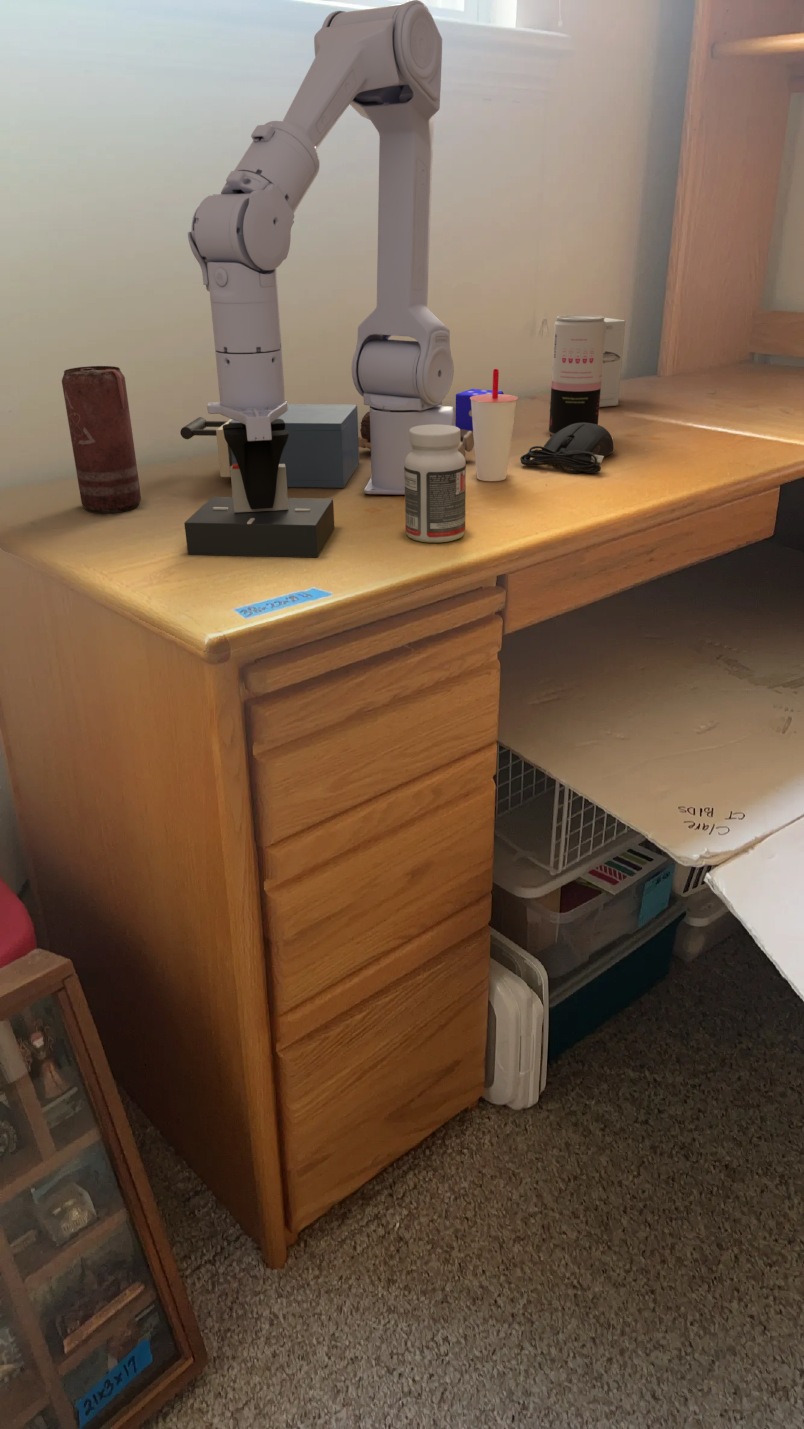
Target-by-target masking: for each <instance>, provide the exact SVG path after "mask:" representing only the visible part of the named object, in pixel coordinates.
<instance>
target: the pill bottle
mask: <svg viewBox="0 0 804 1429" xmlns="http://www.w3.org/2000/svg"><path fill="white" fill-rule="evenodd" d="M460 442H461V440H460V429H459V428H458V427H455V426H450V425H440V424H431V425H420V426H415V427H412V428H411V429H410V430H409V443H410V444H411V446H412V452H411V453H409V454H408V455H407V457H406V459H405V463H404V472H405V495H404V522H405V523H404V525H405V528H404V529H405V534H406V535H407V537H408V538H410V539H411V540H414V541H417V542H421V543H428V544H429V543H431V544H436V543H437V544H441V543H448V542H449V543H450V542H453V541H456V540H458V539H460V538H462V537H463V536H464V535H465V532H466V496H467V494H466V488H467V487H466V485H467V484H466V483H467V482H466V478H467V476H466V474H467V470H466V469H467V464H466V457H465V458H464V456H463V455H462V454H461V453H460V452H459V451H458V448H457V446H458V445H459V443H460Z"/></svg>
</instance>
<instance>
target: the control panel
mask: <svg viewBox="0 0 804 1429" xmlns="http://www.w3.org/2000/svg"><path fill="white" fill-rule="evenodd" d="M288 508H289V509H288V510H278V511H259V512H241V513H235V512H234V505H233V496H212V497H211V498H210V499H208V500H207V501H206V502H205V503H204V504H203V505H201V507H199V508H198V510H196V511H195V512H193V514H192V515H191V516H190V517H188V518H187V519H186V520H185V521H184V523H183V524H184V532H185V541H186V549H187V550H186V551H187V555H189V556H190V555H191V556H193V555H194V556H229V557H231V556H232V557H233V556H234V557H273V558H276V557H277V558H318V557H319V555H321V552H322V550H323V549H324V547H325V546H326V544H327V542H328V541H329V539H330V537H331V535H332V533H333V532H334V531H335V511H334V510H335V509H334V508H335V507H334V498H319V497H318V498H317V497H316V498H314V497H313V498H312V497H309V498H307V497H288Z"/></svg>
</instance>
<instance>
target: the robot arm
mask: <svg viewBox="0 0 804 1429" xmlns="http://www.w3.org/2000/svg"><path fill="white" fill-rule="evenodd" d="M313 45H314V49H313V50H314V59H313V60H312V63H311V65H310V67H309V69H308V70H307V73H306V75H305V77H304V79H303V80H302V83H301V84H300V86H299V88H298V90H297V91H296V94H295V96H294V98H293V100H292V101H291V104H290V106H289V108H288V110H287V111H286V114H285V115H284V118H283V120H271V121H268V122H266V123H264V124H259V125H256V126H255V128H254V130H253V131H252V133H251V134H250V138H251V139H252V142H251V143H250V144H249V146H248V148H247V149H246V151H245V152H244V154H243V156H242V157H241V159H240V161H239V162H238V164H237V165H236V167H235V168H234V170H231V171H230V172H229V174H228V175H227V177H226V179H225V181H226V183H225V184H224V186H223V187H222V189H221V191H220V193H215V194H212V195H208V196H206V197H205V198H203V200H202V201H201V202H200V204H199V205H198V206H197V208H196V209H195V210H194V213H193V215H192V218H191V219H192V220H191V229H190V231H188V232H187V239H188V243H189V247H190V250H191V252H192V254H193V256H194V259H196V261H197V262H198V264H199V266H200V269H201V273H202V282H203V285H204V286H205V289H206V291H207V292H208V293H209V298H210V299H209V300H210V311H211V321H212V330H213V342H214V343H213V344H214V350H215V362H216V373H217V384H218V395H219V401H212V402H207V403H206V408H207V413H208V414H209V415H221V416H223V417H226V418H228V419H233V420H236V421H238V422H241V423H232V424H225V425H223V431H224V438H225V440H226V442H227V444H228V445H229V447H230V449H231V450H232V452H233V454H234V456H235V458H236V461H237V463H238V466H239V469H240V472H241V476H242V480H243V484H244V489H245V493H246V497H247V500H248V503H249V506H250V508H251V509H262V508H273V505H274V500H275V493H276V483H277V473H278V467H279V462H280V458H281V455H282V452H283V449H284V447H285V445H286V442H287V439H288V436H289V433H288V431H287V430H284V429H285V422H284V420H282V419H277V418H278V417H280V416H281V415H282V414H284V413H285V412H286V411H287V410H288V405H287V404H288V401H287V400H286V393H285V380H284V366H283V365H284V364H283V350H282V335H281V334H282V333H281V318H280V306H279V289H278V288H279V287H278V272H277V271H278V270H277V268H279V266H281V264H282V263H283V262H284V261H285V260H286V259H287V258H288V256H289V252H290V246H291V232H292V227H293V225H294V223H295V221H294V219H295V213H296V211H297V209H298V207H299V206H300V204H301V203H302V201H303V200H304V198H305V196H306V195H307V192H309V189H310V188H311V186H312V184H313V183H314V181H315V180H316V178H317V176H318V174H319V172H320V156H319V153H318V151H317V150H318V148H319V147H320V145H321V144H322V143H323V141H324V140H325V139H326V137H327V136H328V135H329V134H330V132H331V131H332V129H333V128H334V126H335V125H336V123H337V122H338V121H339V120H340V118H341V117H342V116H343V114H344V112H346V110H347V108H348V107H349V106H351V107H352V109H354V110H355V111H356V113H358V114H359V115H360V117H363V118H364V119H366V120H369V121H370V122H371V124H372V125H373V127H374V128H375V129H376V131H377V133H378V136H379V142H378V143H379V147H378V148H379V149H378V150H379V152H378V154H379V156H378V200H377V201H378V207H377V214H378V215H377V258H376V259H377V261H376V262H377V263H376V264H377V266H376V267H377V268H376V269H377V270H376V307H375V308H374V309H373V311H371V313H369V315H368V316H366V317H365V319H364V320H363V321H361V323H359V325H358V326H357V341H356V346H355V350H354V353H353V356H352V359H351V378H352V381H353V382H352V383H353V385H354V388H355V390H356V391H357V392H358V394H359V395H360V396H361V397H363V405H365V406H369V411H370V439H371V451H370V468H371V470H370V471H371V472H370V473H371V475H370V476H371V477H370V479H369V480H368V482H367V483H366V486H365V487H364V489H363V494H365V495H393V496H395V495H396V496H399V495H400V496H403V495H404V496H405V472H404V463H405V459H406V457H407V455H408V454H409V453H411V452H412V446H411V444H410V443H409V430H410V429H411V428H412V427H415V426H420V425H431V424H440V425H450V426H455V419H456V408H455V407H454V406H447V405H443V401H444V400H445V399H446V397H447V396H448V394H449V393H450V390H451V388H452V385H453V381H454V375H455V374H454V371H455V369H454V368H455V367H454V360H453V357H452V352H451V342H450V335H451V330H450V329H449V328H448V326H446V324H445V323H443V322H442V321H441V320H440V319H439V318H438V317H437V316H436V315H435V314H434V313H433V312H432V311H431V310H430V309H429V308H428V298H429V297H428V296H429V269H430V244H431V243H430V241H431V217H432V216H431V212H432V189H433V188H432V187H433V161H434V160H433V158H434V131H435V130H434V129H435V114H436V113H437V112H438V111H439V110H440V107H441V87H442V65H443V64H442V63H443V37H442V35H441V33H440V30H439V29H438V27H437V25H436V22H435V20H434V18H433V15H432V13H431V11H430V10H429V8H428V6H427V5H426V4H424V2H422V1H421V0H408V1H406V2H404V3H400V4H393V5H392V4H391V5H386V6H385V5H384V6H378V7H371V8H363V9H358V10H357V9H355V10H349V11H344V10H335V11H332V12H330V13H329V14H328V15H327V17H326V18H325V19H324V20H323V23H322V26H321V28H320V29H319V30H318V31H317V32H316V33H315V34H314V37H313ZM392 336H394V337H410V338H412V339H415V340H404V339H389V338H391V337H392Z"/></svg>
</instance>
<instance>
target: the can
mask: <svg viewBox="0 0 804 1429" xmlns="http://www.w3.org/2000/svg"><path fill="white" fill-rule="evenodd" d="M61 384H62V385H61V386H62V391H63V392H62V393H63V398H64V404H65V405H64V406H65V410H66V416H67V424H68V429H69V434H70V441H71V446H72V447H71V448H72V453H73V454H72V455H73V458H74V459H73V460H74V466H75V471H76V479H77V483H78V490H79V496H80V503H81V505H82V506H83V508H84V509H85V510H86V511H87V512H90V513H94V514H116V513H124V512H129V511H131V510H134V509H136V508H137V507H139V506H140V503H141V501H142V494H141V486H140V479H139V471H138V464H137V457H136V450H135V442H134V435H133V428H132V419H131V412H130V406H129V405H130V404H129V398H128V391H127V382H126V377H125V375H124V374H123V373H122V371H121V367H119V366H111V365H91V366H78V367H73V368H68V369H65V370H63V376H62V378H61Z"/></svg>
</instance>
